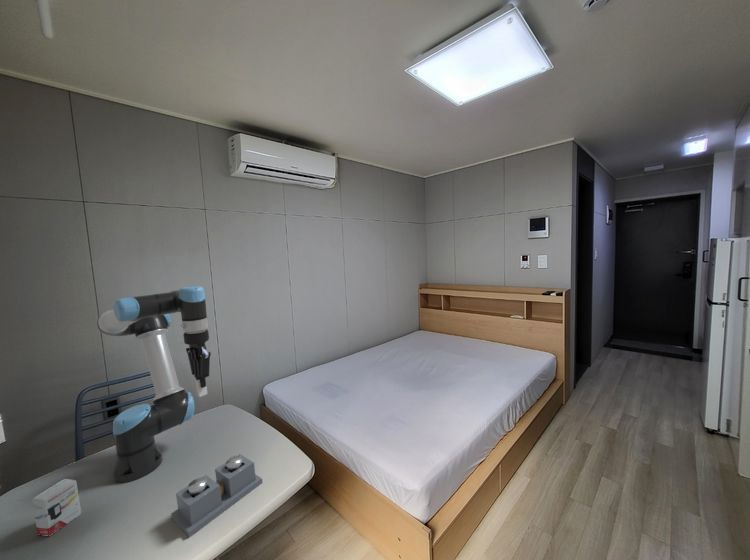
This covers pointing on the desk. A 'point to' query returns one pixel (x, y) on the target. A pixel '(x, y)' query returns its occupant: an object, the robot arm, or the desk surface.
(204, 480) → the knob
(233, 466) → the knob
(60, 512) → the ink box
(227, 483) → the mount
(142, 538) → the desk surface
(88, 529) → the desk surface
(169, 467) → the desk surface
